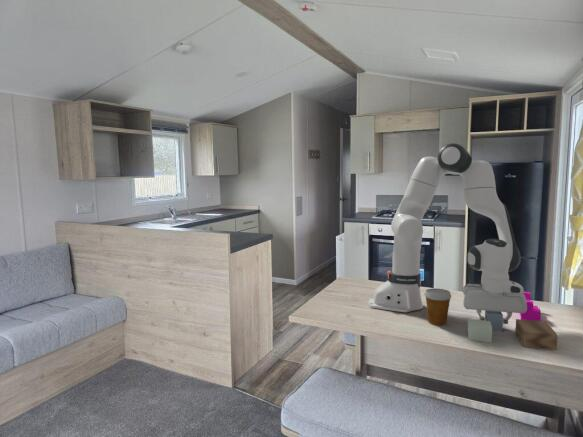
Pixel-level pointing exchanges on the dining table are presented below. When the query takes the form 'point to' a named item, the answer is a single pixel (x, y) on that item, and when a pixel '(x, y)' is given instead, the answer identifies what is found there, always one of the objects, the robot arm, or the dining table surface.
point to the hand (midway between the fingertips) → (493, 322)
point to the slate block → (495, 320)
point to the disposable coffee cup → (437, 305)
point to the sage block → (479, 330)
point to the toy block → (530, 310)
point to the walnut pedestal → (536, 334)
